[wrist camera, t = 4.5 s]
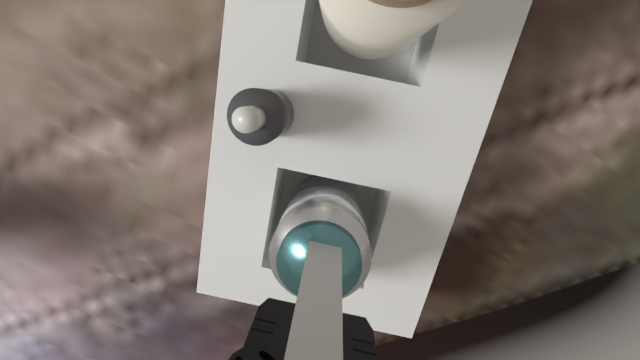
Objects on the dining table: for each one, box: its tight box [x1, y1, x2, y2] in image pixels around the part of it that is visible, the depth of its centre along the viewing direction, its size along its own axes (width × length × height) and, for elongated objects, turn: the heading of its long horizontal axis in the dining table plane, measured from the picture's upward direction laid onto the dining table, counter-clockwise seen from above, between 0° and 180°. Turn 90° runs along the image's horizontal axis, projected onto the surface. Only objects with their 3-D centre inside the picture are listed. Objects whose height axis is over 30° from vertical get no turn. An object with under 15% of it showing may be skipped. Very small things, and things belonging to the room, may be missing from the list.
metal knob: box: [268, 175, 372, 299], centre depth 18 cm, size 5×5×8 cm
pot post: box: [227, 88, 294, 146], centre depth 13 cm, size 2×2×5 cm
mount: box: [197, 0, 533, 338], centre depth 18 cm, size 24×14×5 cm, turn 169°
